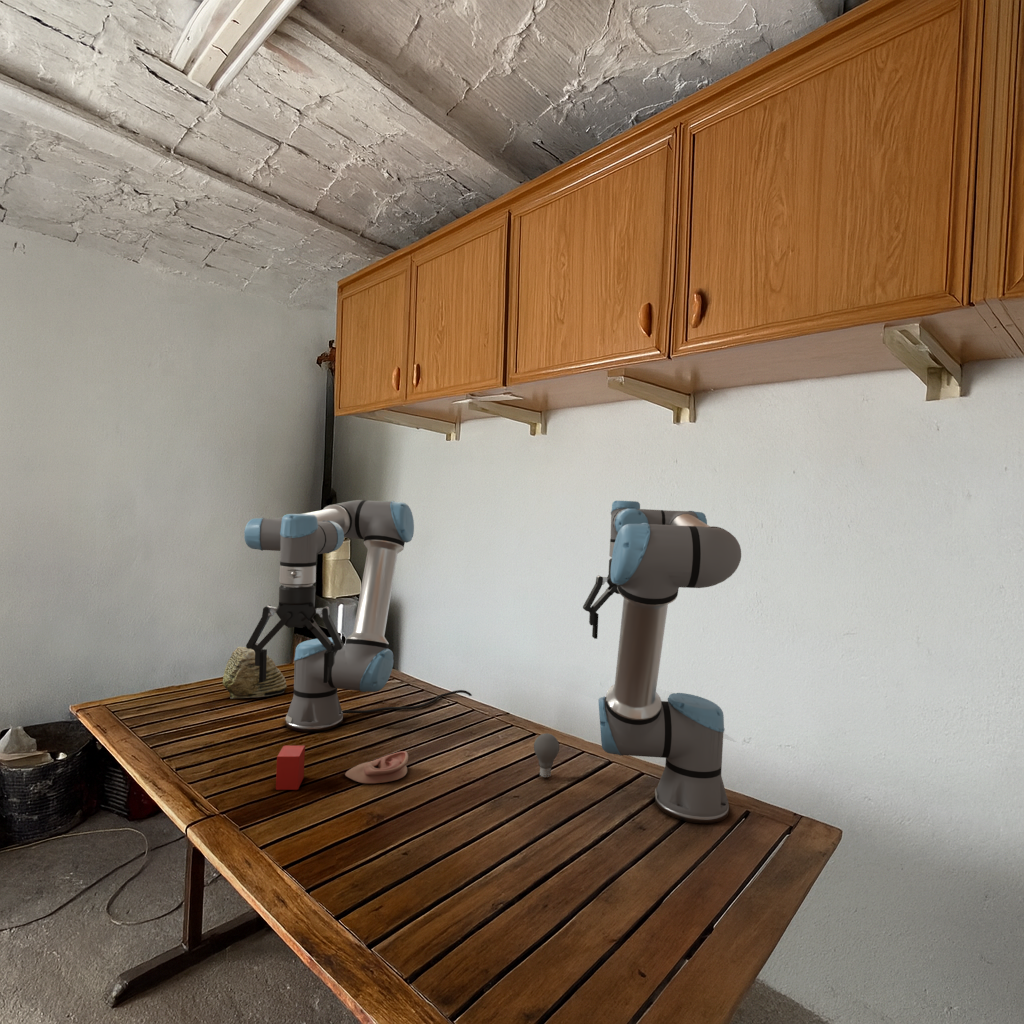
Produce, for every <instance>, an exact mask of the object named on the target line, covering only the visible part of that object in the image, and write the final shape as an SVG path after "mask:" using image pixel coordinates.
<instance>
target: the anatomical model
mask: <svg viewBox="0 0 1024 1024" xmlns="http://www.w3.org/2000/svg"><path fill="white" fill-rule="evenodd" d="M408 761H409V753H408V752H407V751H404V750H402V751H397V752H394V753H393V752H392V753H390V754H387V755H384V756H381V757H378V758H376V759H373V760H371V761H367V762H362V763H359V764H357V765H355V766H353V767H351V768H350V769H348V770H347V771H346V772H345V773H344V775H345V777H347V778H348V779H349V780H352V781H354V782H358V783H360V784H380V783H388V782H393V781H397V780H400V779H402V778H404V777H405V776H406V775H407V773H408V767H407V763H408Z"/></svg>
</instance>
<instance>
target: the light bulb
mask: <svg viewBox="0 0 1024 1024" xmlns="http://www.w3.org/2000/svg"><path fill="white" fill-rule="evenodd" d="M533 751H534V754H535V756H536V757H537V760H538V765H539V776H541V777H542V778H549V777H551V776H552V767H553V765H554V761H555V759H556V758H557V756H558V755H559V752H560V743H559V740H558V739H557V737H556V736H555V735H553V734H552V733H549V732H547V733H541V734H539V736H537V737H536V738H535V740H534V743H533Z"/></svg>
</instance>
